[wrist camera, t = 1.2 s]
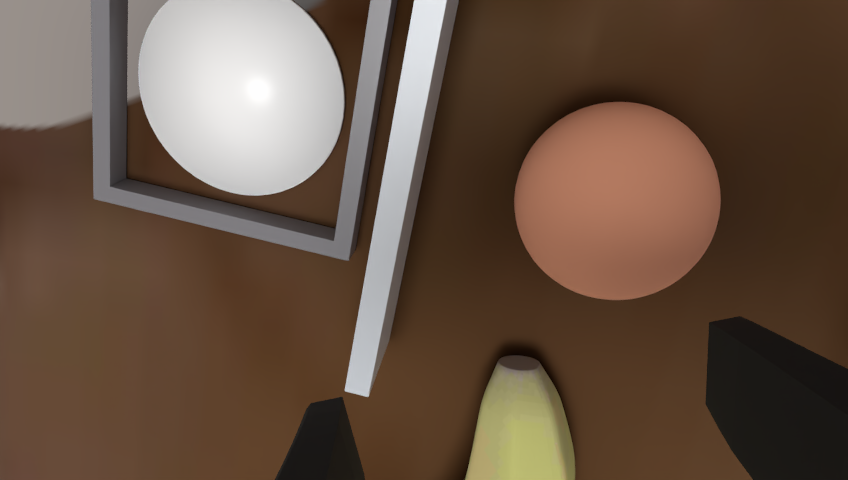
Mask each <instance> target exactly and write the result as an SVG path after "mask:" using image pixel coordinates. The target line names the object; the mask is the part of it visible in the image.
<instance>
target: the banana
mask: <svg viewBox="0 0 848 480" xmlns="http://www.w3.org/2000/svg"><path fill="white" fill-rule="evenodd" d="M465 480H575V458H574V450H573V444H572V439H571V435H570V431H569V427H568V423H567V419H566V416H565V412H564V409H563V405H562V402H561V399H560V397H559V394H558V392H557V390H556V388H555V386H554V385H553V383H552V381H551V380H550V378H549V376H548V375H547V373H546V372H545V370H544V369H543V367H542V365H541V364H540V362H539V361H538V360H536V359H534V358H531V357H527V356H520V355H511V356H505V357H502V358H500V359H499V360H498V362H497V365H496V367H495V369H494V372H493V374H492V376H491V378H490V381H489V383H488V385H487V387H486V390H485V393H484V396H483V399H482V402H481V407H480V411H479V416H478V421H477V426H476V432H475V437H474V442H473V447H472V452H471V456H470V461H469V465H468V470H467V474H466V478H465Z"/></svg>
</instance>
